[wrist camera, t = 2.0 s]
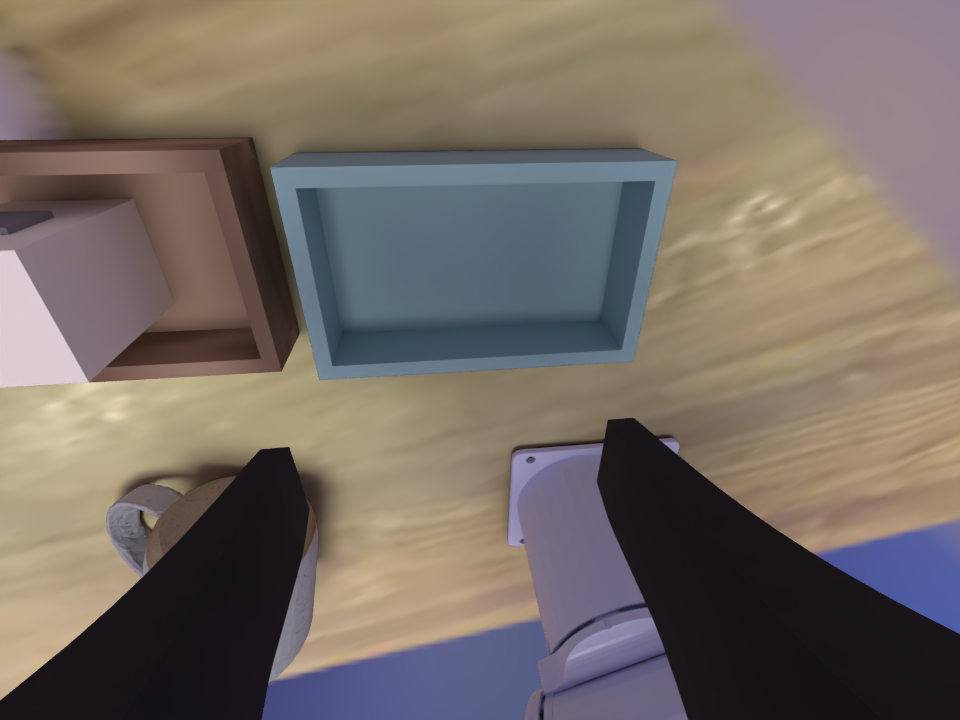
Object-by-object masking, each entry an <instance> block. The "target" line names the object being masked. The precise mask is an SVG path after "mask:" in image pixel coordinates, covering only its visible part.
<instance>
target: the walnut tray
mask: <svg viewBox="0 0 960 720" xmlns="http://www.w3.org/2000/svg"><path fill="white" fill-rule="evenodd" d="M110 199H134V202H135V204H136V207H137V209H138V212H139V214H140V217H141V219H142V222H143V224H144V227H145V229H146V232H147V234H148V237H149V240H150V242H151V245H152V247H153V250H154V252H155V255H156V257H157V260H158V262H159V265H160V267H161V270H162V272H163V275H164V277H165V280H166V283H167V285H168V288H169V290H170V293H171V295H172V298H173V300H174V304H173V305H172V306H171V307H170V308H169V309H168V310H167V311H166V312H165V313H163V314H162V315H161V316H160V317H159V318H158V319H157V320H156V321H155V322H154V323H153V324H152V325H150V326H149V327H148V328H147V329H146V330H145V331H144V332H143V333H142V334H141V335H140V336H139V337H137V338H136V339H135V340H134V341H133V342H132V343H131V344H130V345H129V346H128V347H127V348H126V349H124V350H123V351H122V352H121V353H120V354H119V355H118V356H117V357H116V358H115V359H114V360H113V361H111V362H110V363H109V364H108V365H107V366H106V367H105V368H104V369H103V370H102V371H101V372H100V373H99V374H97V375H96V376H95V377H94V378H93V379H92V380H91V381H90V382H106V381H123V380H141V379H158V378H176V377H193V376H211V375H228V374H246V373H263V372H281V371H282V370H283V367H284V365H285V363H286V361H287V359H288V357H289V355H290V353H291V350H292V348H293V346H294V344H295V342H296V340H297V338H298V336H299V334H300V333H299V329H298V325H297V321H296V317H295V313H294V308H293V304H292V300H291V296H290V292H289V288H288V284H287V280H286V276H285V271H284V267H283V263H282V259H281V255H280V251H279V247H278V243H277V238H276V234H275V230H274V226H273V222H272V218H271V214H270V210H269V205H268V201H267V197H266V193H265V189H264V185H263V181H262V177H261V172H260V168H259V164H258V160H257V156H256V152H255V148H254V144H253V139H252V138H179V139H85V140H0V204H3V203H6V202H19V201H65V200H110ZM87 383H88V382H87ZM70 384H71V383H70ZM52 385H53V384H52ZM35 386H36V385H35ZM17 387H18V386H17ZM0 388H1V387H0Z"/></svg>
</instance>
